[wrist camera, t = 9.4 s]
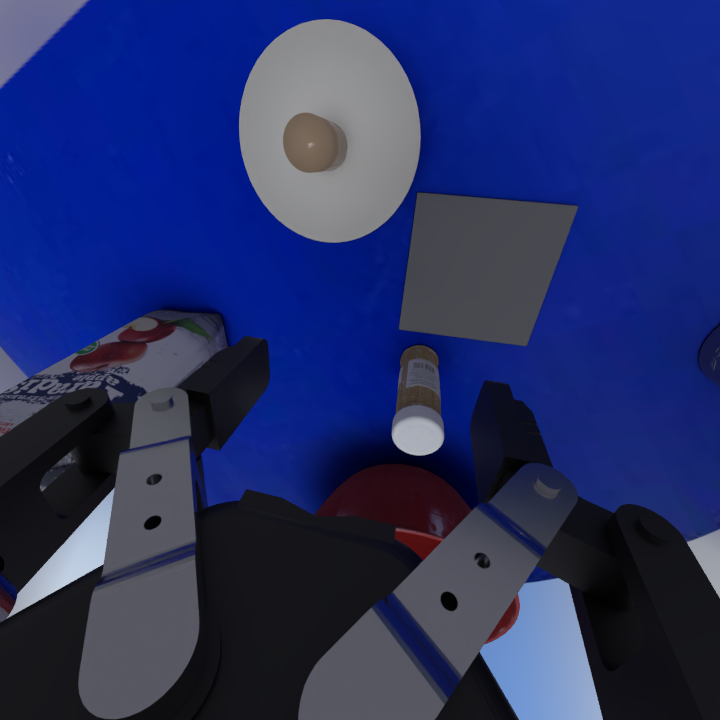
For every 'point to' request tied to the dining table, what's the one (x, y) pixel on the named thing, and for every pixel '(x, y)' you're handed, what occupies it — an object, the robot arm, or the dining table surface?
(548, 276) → the mat
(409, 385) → the sprinkles bottle
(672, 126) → the dining table surface
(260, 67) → the lid
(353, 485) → the mixing bowl
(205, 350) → the juice carton
